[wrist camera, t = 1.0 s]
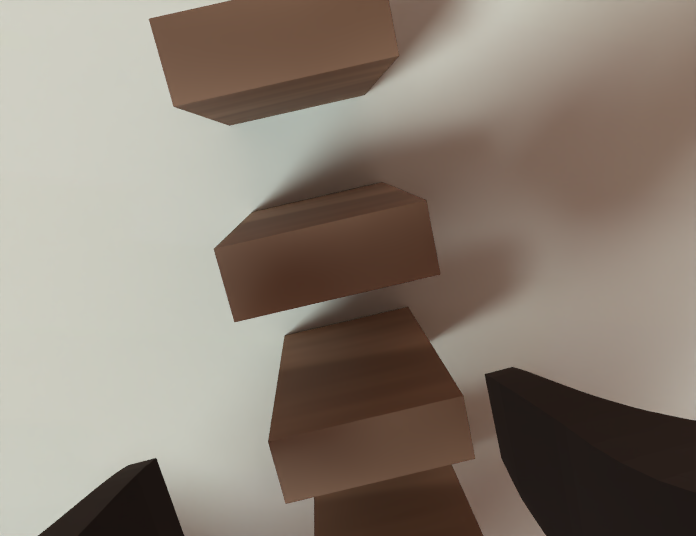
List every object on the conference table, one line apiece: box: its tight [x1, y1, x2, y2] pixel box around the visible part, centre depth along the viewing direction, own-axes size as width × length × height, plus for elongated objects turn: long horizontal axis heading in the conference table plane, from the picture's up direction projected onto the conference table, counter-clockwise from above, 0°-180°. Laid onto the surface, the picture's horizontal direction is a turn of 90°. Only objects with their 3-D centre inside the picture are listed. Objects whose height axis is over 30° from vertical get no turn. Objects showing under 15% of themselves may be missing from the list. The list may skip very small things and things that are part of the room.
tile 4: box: [214, 182, 440, 322], centre depth 16 cm, size 2×5×8 cm, turn 102°
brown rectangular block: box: [314, 465, 483, 536], centre depth 19 cm, size 2×5×8 cm, turn 102°
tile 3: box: [268, 307, 475, 504], centre depth 18 cm, size 2×5×8 cm, turn 103°
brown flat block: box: [149, 0, 399, 126], centre depth 15 cm, size 2×5×8 cm, turn 103°
